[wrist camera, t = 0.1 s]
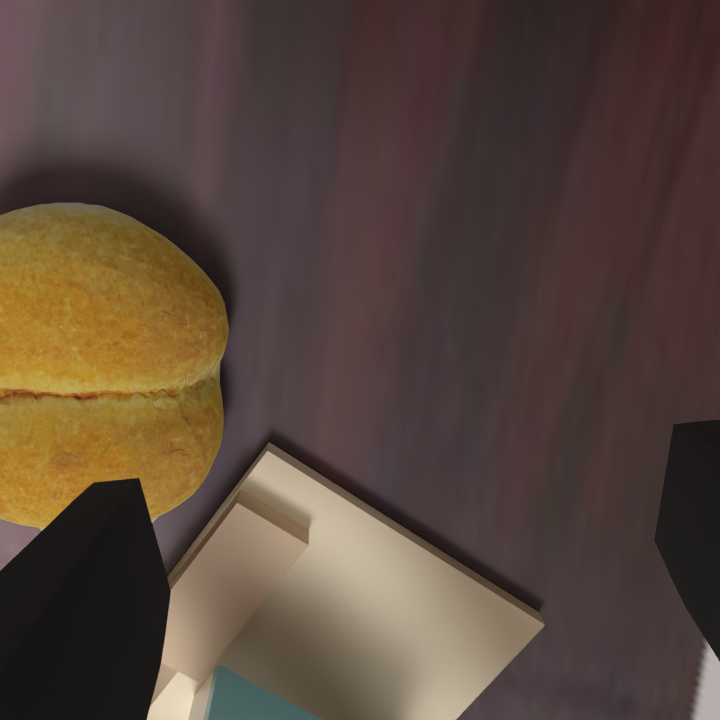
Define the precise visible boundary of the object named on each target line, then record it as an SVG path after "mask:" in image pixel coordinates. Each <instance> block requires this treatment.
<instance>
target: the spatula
mask: <svg viewBox="0 0 720 720" xmlns="http://www.w3.org/2000/svg"><path fill="white" fill-rule="evenodd" d="M308 546H309V530H307V529H306V528H304V527H302V526H301V525H299V524H297V523H296V522H294V521H292V520H291V519H289V518H287V517H286V516H284V515H282V514H281V513H279V512H278V511H276V510H274V509H273V508H271V507H269V506H268V505H266V504H264V503H263V502H261V501H259V500H258V499H256V498H254V497H253V496H251V495H249V494H248V493H246V492H244V491H243V490H241V489H240V490H239V492H238V493H237V494H236V496H235V497H234V498H233V500H232V501H231V502H230V504H229V505H228V506H227V508H226V509H225V510H224V512H223V513H222V514H221V516H220V517H219V518H218V519H217V521H216V522H215V523H214V525H213V526H212V527H211V529H210V530H209V531H208V533H207V534H206V535H205V537H204V538H203V539H202V541H201V542H200V543H199V545H198V546H197V547H196V549H195V550H194V551H193V553H192V554H191V555H190V557H189V558H188V559H187V561H186V562H185V563H184V564H183V566H182V567H181V568H180V570H179V571H178V572H177V574H176V575H175V576H174V578H173V579H172V580H171V582H170V583H169V586H170V589H171V595H170V603H169V611H168V618H167V626H166V634H165V640H164V647H163V654H162V660H161V666H160V670H159V674H158V678H157V682H156V686H155V690H154V694H153V697H152V701H151V705H152V704H153V702H154V701H155V700H156V699H157V697H158V696H159V695H160V694H161V692H162V691H163V690H164V689H165V687H166V686H167V685H168V684H169V682H170V681H171V680H172V678H173V677H174V676H175V675H176V673H177V672H180V673H182V674H184V675H186V676H188V677H189V678H191V679H193V680H195V681H197V682H199V681H200V680H201V679H202V677H203V676H204V675H205V674H206V672H207V671H208V670H209V669H210V667H211V666H212V665H213V664H214V662H215V661H216V660H217V659H218V657H219V656H220V655H221V654H222V653H223V651H224V650H225V649H226V648H227V646H228V645H229V644H230V643H231V641H232V640H233V639H234V638H235V636H236V635H237V634H238V633H239V631H240V630H241V629H242V628H243V626H244V625H245V624H246V623H247V621H248V620H249V619H250V618H251V616H252V615H253V614H254V613H255V611H256V610H257V609H258V608H259V607H260V605H261V604H262V603H263V602H264V600H265V599H266V598H267V597H268V595H269V594H270V593H271V592H272V590H273V589H274V588H275V587H276V585H277V584H278V583H279V582H280V580H281V579H282V578H283V577H284V575H285V574H286V573H287V572H288V570H289V569H290V568H291V567H292V566H293V564H294V563H295V562H296V561H297V559H298V558H299V557H300V556H301V554H302V553H303V552H304V551H305V549H306V548H307V547H308ZM151 705H150V706H151Z"/></svg>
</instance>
